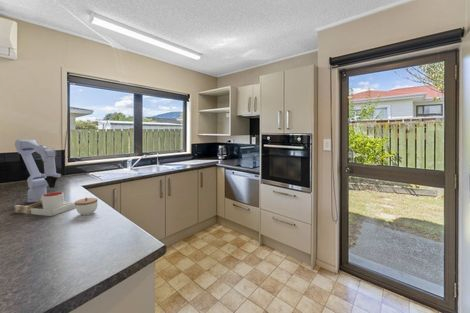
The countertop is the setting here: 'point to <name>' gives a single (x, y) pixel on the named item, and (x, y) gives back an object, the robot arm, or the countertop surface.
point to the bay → (27, 207)
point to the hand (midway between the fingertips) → (52, 187)
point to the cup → (53, 200)
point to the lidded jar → (86, 206)
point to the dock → (55, 211)
